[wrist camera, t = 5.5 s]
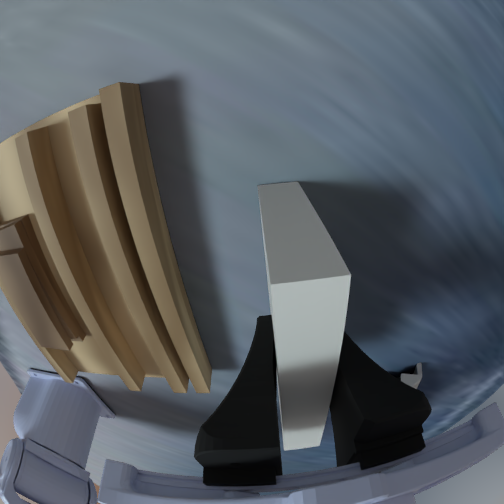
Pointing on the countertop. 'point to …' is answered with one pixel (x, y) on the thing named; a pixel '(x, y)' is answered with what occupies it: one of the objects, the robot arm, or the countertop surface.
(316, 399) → the white rectangular block
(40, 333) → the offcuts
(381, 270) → the countertop surface
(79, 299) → the rack
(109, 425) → the countertop surface
